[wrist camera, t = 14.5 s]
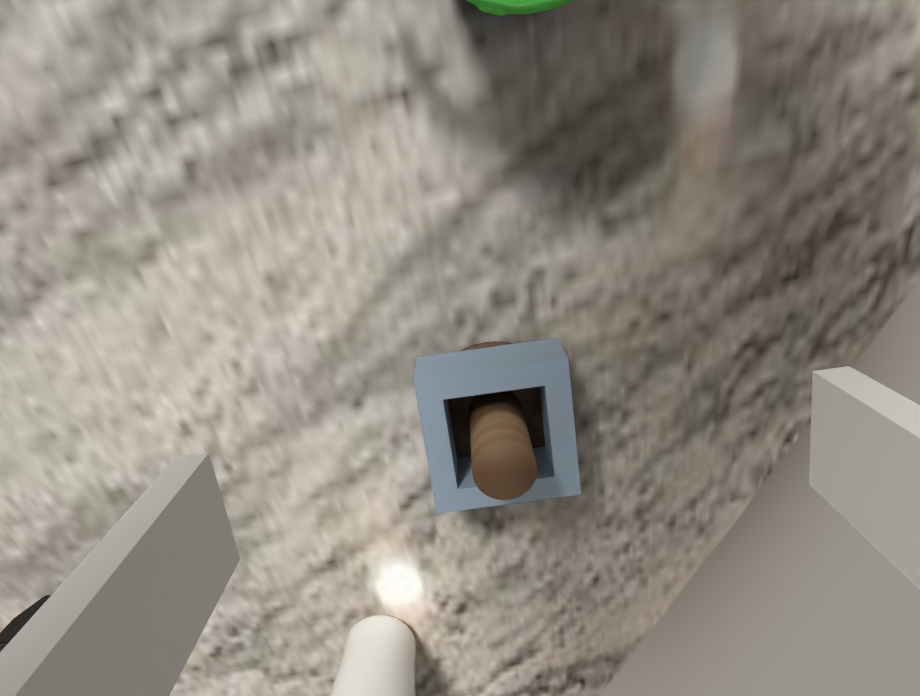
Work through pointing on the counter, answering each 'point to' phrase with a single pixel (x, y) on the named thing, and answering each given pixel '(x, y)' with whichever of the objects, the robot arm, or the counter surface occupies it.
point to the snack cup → (516, 6)
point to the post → (499, 437)
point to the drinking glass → (377, 659)
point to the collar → (490, 375)
